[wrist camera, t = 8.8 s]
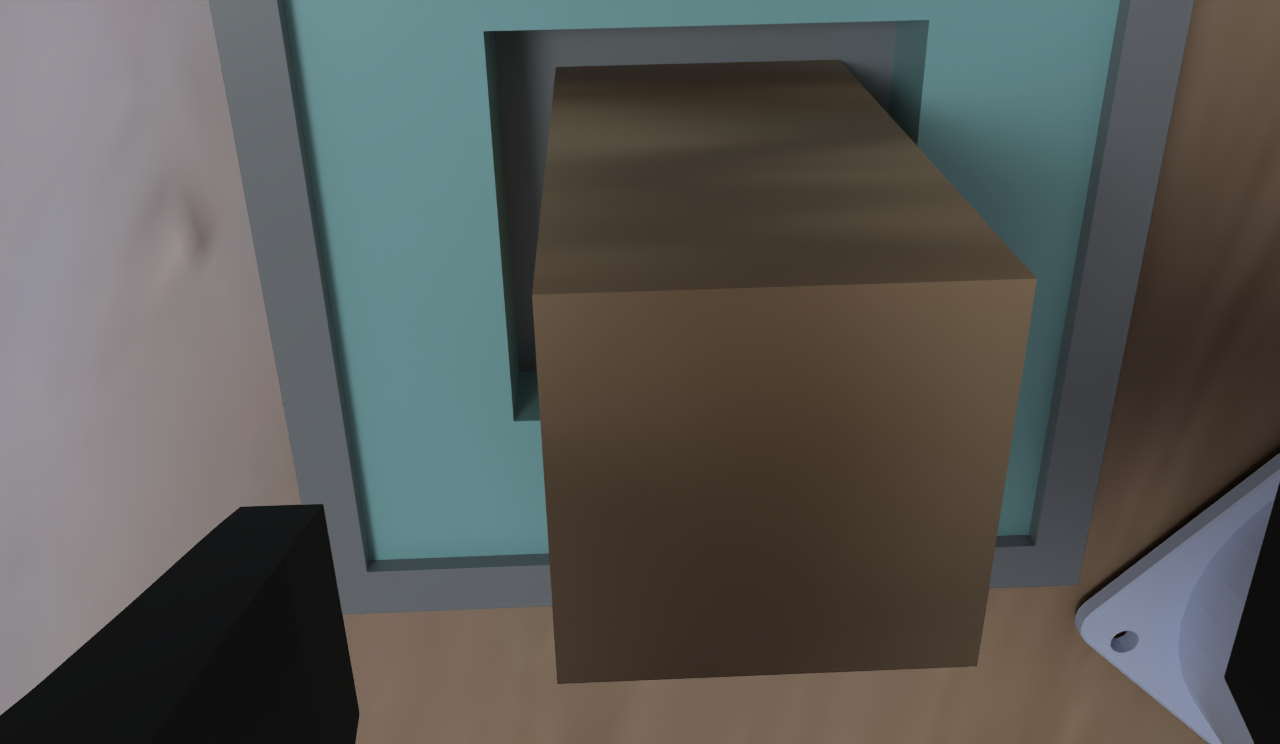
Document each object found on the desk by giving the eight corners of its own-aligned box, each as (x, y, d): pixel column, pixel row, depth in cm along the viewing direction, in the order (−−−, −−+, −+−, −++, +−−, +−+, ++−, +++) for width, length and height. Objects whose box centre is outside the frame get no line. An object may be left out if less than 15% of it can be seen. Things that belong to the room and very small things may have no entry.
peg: (838, 59, 16) (1036, 277, 9) (822, 316, 18) (977, 666, 11) (555, 67, 16) (532, 294, 9) (568, 325, 18) (557, 683, 11)
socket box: (1150, -269, 15) (1249, -278, 13) (1024, 497, 20) (1077, 584, 18) (226, -253, 15) (161, -260, 12) (351, 522, 20) (321, 615, 18)
